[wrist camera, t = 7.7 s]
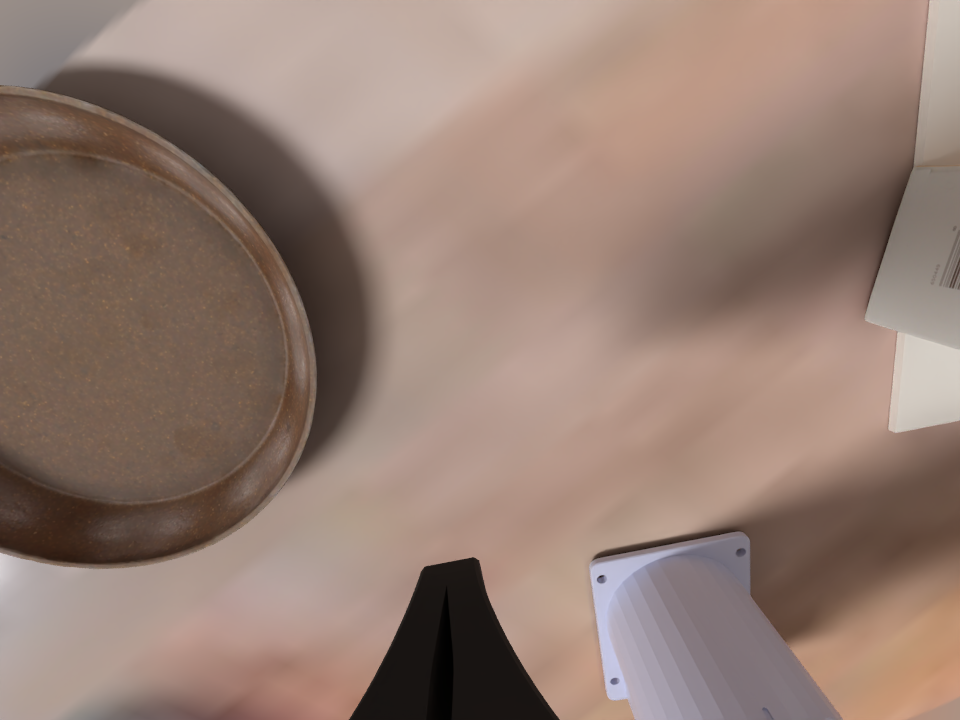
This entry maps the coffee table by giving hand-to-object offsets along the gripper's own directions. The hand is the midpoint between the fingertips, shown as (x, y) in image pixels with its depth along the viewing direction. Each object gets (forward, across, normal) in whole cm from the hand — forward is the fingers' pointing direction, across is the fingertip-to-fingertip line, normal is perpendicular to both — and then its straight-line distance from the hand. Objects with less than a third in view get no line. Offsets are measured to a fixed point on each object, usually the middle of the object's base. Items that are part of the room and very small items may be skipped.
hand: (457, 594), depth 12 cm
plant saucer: (+11, +13, -6) cm, 18 cm away
